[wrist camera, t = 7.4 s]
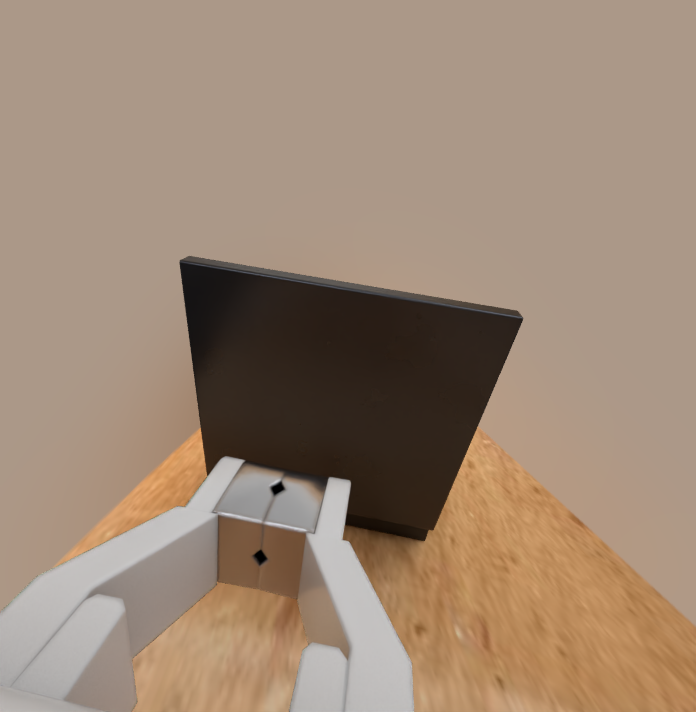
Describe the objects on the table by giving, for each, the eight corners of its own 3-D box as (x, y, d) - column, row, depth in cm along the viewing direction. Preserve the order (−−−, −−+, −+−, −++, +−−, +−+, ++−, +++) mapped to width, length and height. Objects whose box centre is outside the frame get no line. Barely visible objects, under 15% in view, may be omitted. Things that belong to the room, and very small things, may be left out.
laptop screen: (189, 254, 15) (178, 260, 14) (518, 309, 14) (524, 318, 13) (214, 473, 22) (207, 485, 21) (432, 517, 21) (433, 531, 20)
